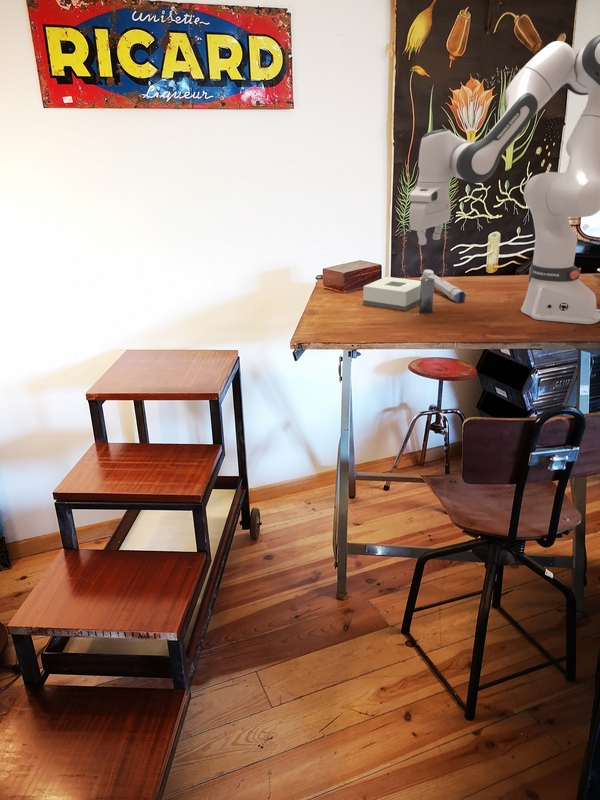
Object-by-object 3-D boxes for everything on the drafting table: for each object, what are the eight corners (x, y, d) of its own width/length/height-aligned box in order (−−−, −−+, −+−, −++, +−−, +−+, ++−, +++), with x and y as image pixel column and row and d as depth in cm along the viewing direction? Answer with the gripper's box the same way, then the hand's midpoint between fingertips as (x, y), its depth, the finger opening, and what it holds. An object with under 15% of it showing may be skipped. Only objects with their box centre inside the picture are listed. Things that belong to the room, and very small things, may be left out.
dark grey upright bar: (434, 310, 184) (436, 278, 180) (428, 313, 182) (430, 281, 177) (422, 308, 187) (424, 277, 182) (416, 312, 184) (418, 279, 180)
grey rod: (454, 292, 189) (418, 266, 210) (451, 311, 193) (416, 284, 213) (468, 290, 191) (431, 264, 211) (465, 309, 194) (429, 282, 214)
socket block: (426, 299, 196) (427, 281, 193) (405, 311, 185) (405, 292, 182) (385, 294, 204) (386, 276, 202) (363, 304, 193) (363, 286, 191)
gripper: (437, 188, 179) (434, 235, 185) (406, 195, 164) (403, 246, 170) (457, 189, 175) (454, 237, 181) (427, 196, 161) (424, 248, 166)
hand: (429, 242), depth 175 cm, fingers open, 8 cm apart
